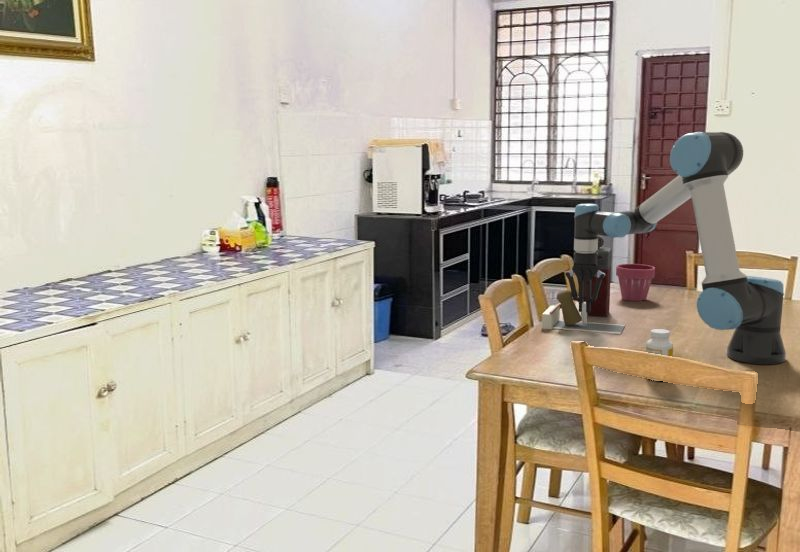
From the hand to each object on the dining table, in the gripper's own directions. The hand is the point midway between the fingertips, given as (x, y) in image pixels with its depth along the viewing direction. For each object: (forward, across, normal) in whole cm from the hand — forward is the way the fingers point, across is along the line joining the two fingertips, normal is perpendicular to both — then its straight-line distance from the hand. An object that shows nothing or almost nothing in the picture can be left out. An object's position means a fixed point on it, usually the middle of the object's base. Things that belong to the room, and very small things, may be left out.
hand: (584, 321), depth 262 cm
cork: (+1, +3, 0) cm, 3 cm away
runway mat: (+2, -2, 0) cm, 2 cm away
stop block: (+2, +11, 0) cm, 11 cm away
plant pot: (+2, -10, -52) cm, 53 cm away
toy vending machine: (+2, 0, -20) cm, 20 cm away
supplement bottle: (+2, -28, +50) cm, 57 cm away
